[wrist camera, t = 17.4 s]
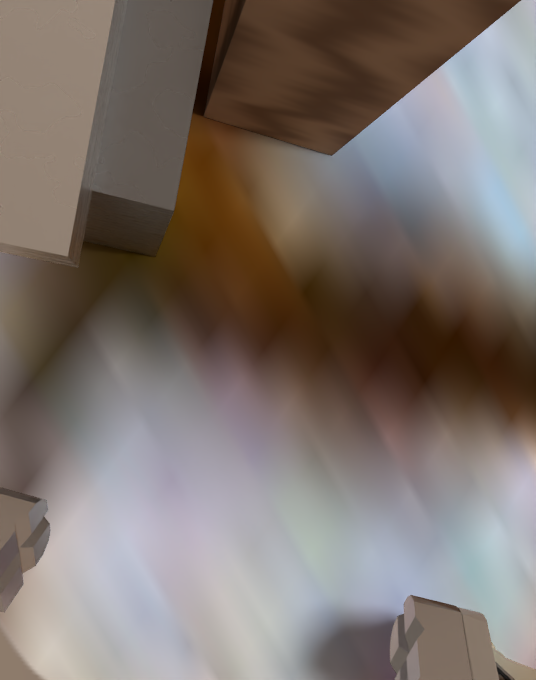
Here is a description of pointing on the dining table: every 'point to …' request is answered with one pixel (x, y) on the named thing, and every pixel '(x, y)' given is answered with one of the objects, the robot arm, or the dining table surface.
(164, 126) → the riser block
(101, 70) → the grey rectangular block
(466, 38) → the tall wooden cabinet
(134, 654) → the dining table surface
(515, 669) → the pneumatic valve
